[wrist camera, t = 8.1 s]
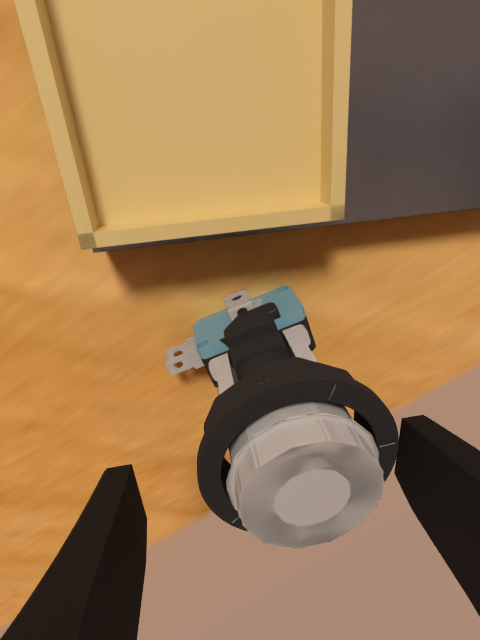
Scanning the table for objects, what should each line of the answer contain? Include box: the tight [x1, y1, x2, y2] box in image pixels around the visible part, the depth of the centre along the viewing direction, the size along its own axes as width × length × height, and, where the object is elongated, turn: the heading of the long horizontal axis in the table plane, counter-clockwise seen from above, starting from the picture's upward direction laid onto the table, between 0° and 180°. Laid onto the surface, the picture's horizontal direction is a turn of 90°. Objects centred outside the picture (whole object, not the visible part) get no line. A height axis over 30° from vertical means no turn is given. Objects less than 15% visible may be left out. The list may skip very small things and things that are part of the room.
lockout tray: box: [14, 0, 353, 250], centre depth 11 cm, size 9×11×1 cm
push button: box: [165, 285, 399, 548], centre depth 14 cm, size 7×5×10 cm
